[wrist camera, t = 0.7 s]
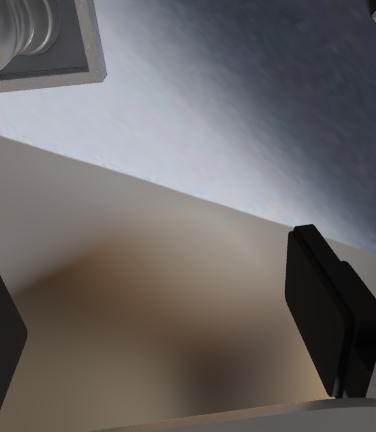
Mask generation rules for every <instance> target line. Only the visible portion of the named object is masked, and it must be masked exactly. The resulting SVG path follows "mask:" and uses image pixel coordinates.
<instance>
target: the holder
mask: <svg viewBox="0 0 376 432" xmlns="http://www.w3.org/2000/svg"><path fill="white" fill-rule="evenodd" d="M74 1H75V6H76V11H77V16H78V20H79V25H80V30H81V34H82V39H83V44H84V49H85V53H86V58H87V63H88V66H85V67H75V68H65V69H55V70H45V71H35V72H25V73H15V74H5V75H0V93H1V92H11V91H20V90H30V89H40V88H50V87H60V86H70V85H80V84H90V83H99V82H103V81H104V79H105V78H106V76H107V70H106V65H105V60H104V54H103V49H102V44H101V38H100V33H99V28H98V23H97V17H96V12H95V7H94V1H93V0H74Z"/></svg>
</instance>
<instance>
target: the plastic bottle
mask: <svg viewBox="0 0 376 432" xmlns="http://www.w3.org/2000/svg"><path fill="white" fill-rule="evenodd" d="M60 26H61V17H60V10H59V7H58V4H57V1H56V0H0V70H2V69H3V68H4V67H5V66H6V65H7V64H8V63H9V62H10V61H11V59H12V58H13V57H14V56H16V55H17V54H18V55H38V54H41V53H43V52H46V51H47V50H48V49H49V48H51V47H52V45H53V44H54V43H55V41H56V39H57V37H58V34H59V31H60Z"/></svg>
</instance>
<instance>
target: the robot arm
mask: <svg viewBox="0 0 376 432" xmlns="http://www.w3.org/2000/svg"><path fill="white" fill-rule="evenodd" d="M285 299H286V302H287V305H288V307H289V309H290V312H291V314H292V316H293V318H294V320H295V323H296V325H297V327H298V329H299V332H300V334H301V336H302V338H303V341H304V343H305V345H306V347H307V350H308V352H309V354H310V356H311V359H312V361H313V363H314V365H315V367H316V370H317V372H318V374H319V376H320V379H321V381H322V383H323V385H324V388H325V390H326V392H327V394H328V395H329V396H330V397H335V398H336V399H326V400H315V401H307V402H299V403H291V404H282V405H274V406H266V407H258V408H252V409H244V410H237V411H229V412H222V413H215V414H208V415H201V416H193V417H186V418H179V419H172V420H165V421H158V422H151V423H144V424H137V425H130V426H123V427H116V428H109V429H102V430H95V431H89V432H376V298H375V297H374V296H373V294H372V293H371V292H370V290H369V289H368V288H367V286H366V285H365V284H364V282H363V281H362V280H361V278H360V277H359V276H358V274H357V273H356V272H355V271H354V269H353V268H352V267H351V265H350V264H349V263H348V262H346V261H340V260H339V258H338V257H337V256H336V254H335V253H334V252H333V250H332V249H331V248H330V246H329V245H328V243H327V242H326V241H325V239H324V238H323V236H322V235H321V234H320V232H319V231H318V230H317V228H316V227H315V226H314V225H313V224H309V225H302V226H295V227H294V230H293V231H291V232H289V234H288V247H287V263H286V280H285ZM26 340H27V329H26V326H25V324H24V322H23V320H22V318H21V316H20V314H19V312H18V310H17V308H16V306H15V304H14V302H13V300H12V298H11V296H10V294H9V292H8V290H7V288H6V286H5V284H4V282H3V280H2V278H1V276H0V409H1V406H2V404H3V401H4V398H5V396H6V393H7V390H8V388H9V385H10V382H11V380H12V377H13V374H14V372H15V369H16V366H17V364H18V361H19V358H20V356H21V353H22V350H23V348H24V345H25V342H26Z"/></svg>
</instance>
